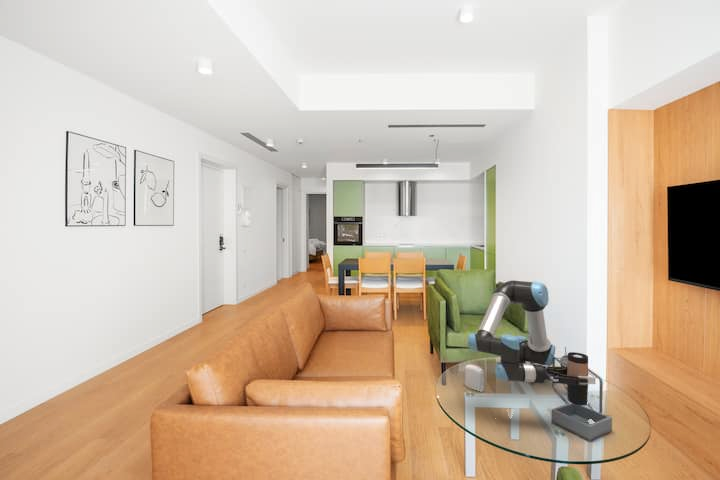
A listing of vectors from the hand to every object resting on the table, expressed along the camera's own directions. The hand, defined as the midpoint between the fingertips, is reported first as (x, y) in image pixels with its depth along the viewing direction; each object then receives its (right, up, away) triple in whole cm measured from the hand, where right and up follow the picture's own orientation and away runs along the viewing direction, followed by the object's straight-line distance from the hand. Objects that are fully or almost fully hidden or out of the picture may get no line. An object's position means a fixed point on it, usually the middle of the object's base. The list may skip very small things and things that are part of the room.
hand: (589, 376), depth 149 cm
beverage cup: (+18, -22, +47) cm, 54 cm away
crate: (-4, -22, +1) cm, 22 cm away
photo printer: (-37, -22, +39) cm, 58 cm away
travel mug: (-5, -11, +1) cm, 12 cm away
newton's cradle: (+9, -22, +25) cm, 34 cm away
